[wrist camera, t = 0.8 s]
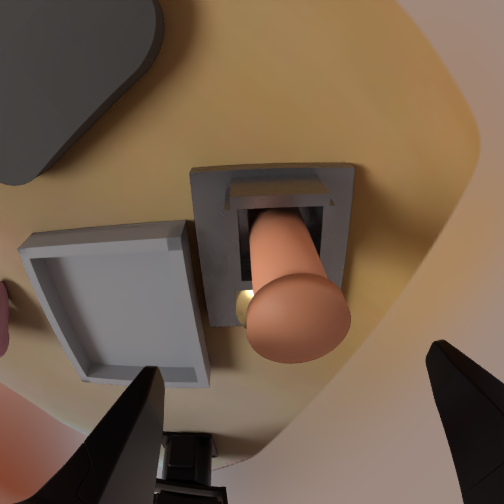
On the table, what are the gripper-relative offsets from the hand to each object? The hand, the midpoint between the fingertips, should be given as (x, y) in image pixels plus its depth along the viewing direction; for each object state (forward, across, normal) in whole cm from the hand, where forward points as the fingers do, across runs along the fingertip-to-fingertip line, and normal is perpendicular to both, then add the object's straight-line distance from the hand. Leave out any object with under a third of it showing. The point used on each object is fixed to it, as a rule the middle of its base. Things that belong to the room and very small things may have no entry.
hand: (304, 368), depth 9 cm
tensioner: (+11, 0, +2) cm, 12 cm away
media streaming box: (+12, +14, -13) cm, 22 cm away
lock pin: (+10, 0, 0) cm, 10 cm away
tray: (+12, +11, +7) cm, 17 cm away
